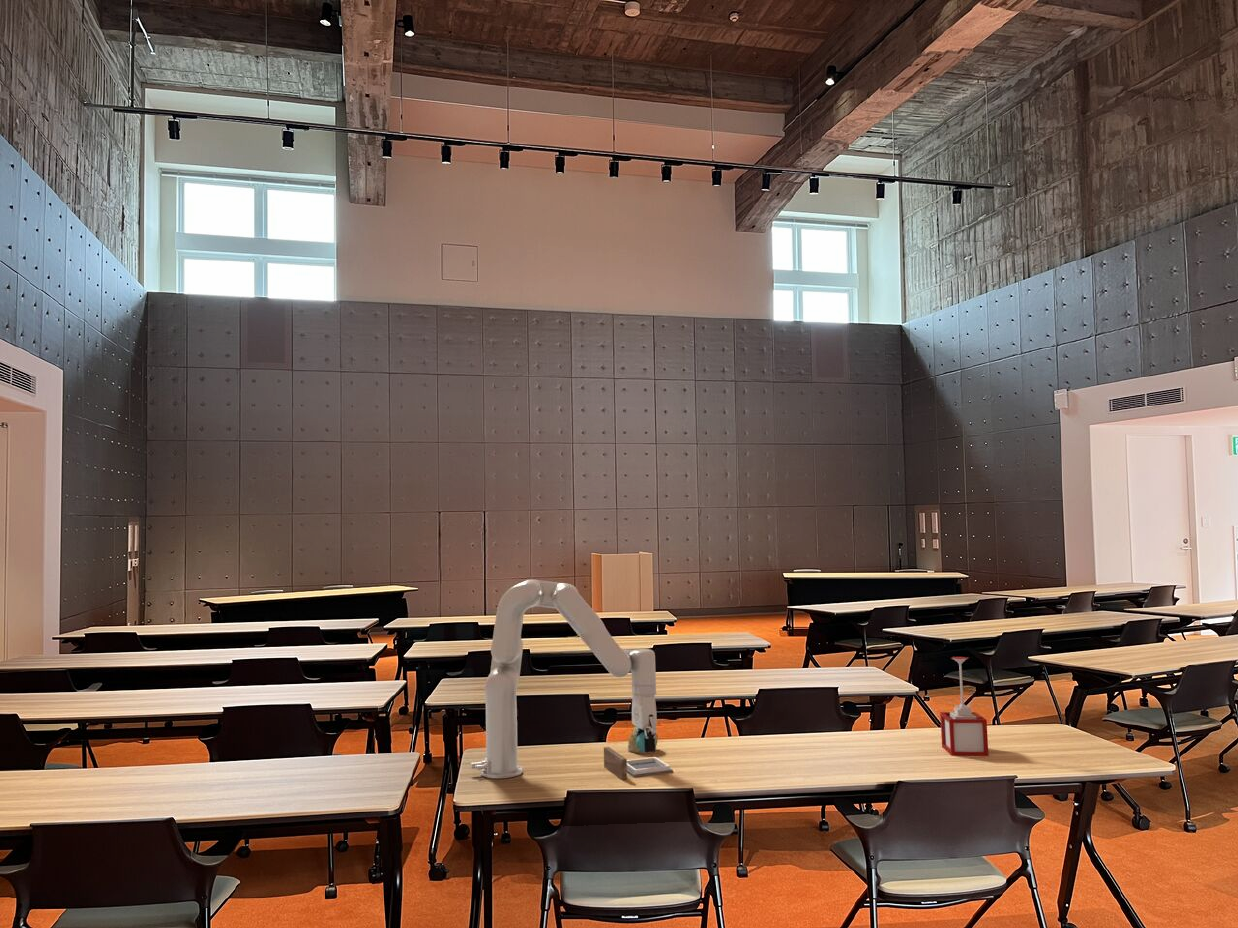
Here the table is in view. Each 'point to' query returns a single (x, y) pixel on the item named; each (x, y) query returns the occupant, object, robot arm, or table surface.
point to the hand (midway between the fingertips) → (645, 748)
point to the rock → (632, 742)
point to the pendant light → (963, 728)
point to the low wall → (615, 763)
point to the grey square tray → (647, 767)
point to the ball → (641, 742)
